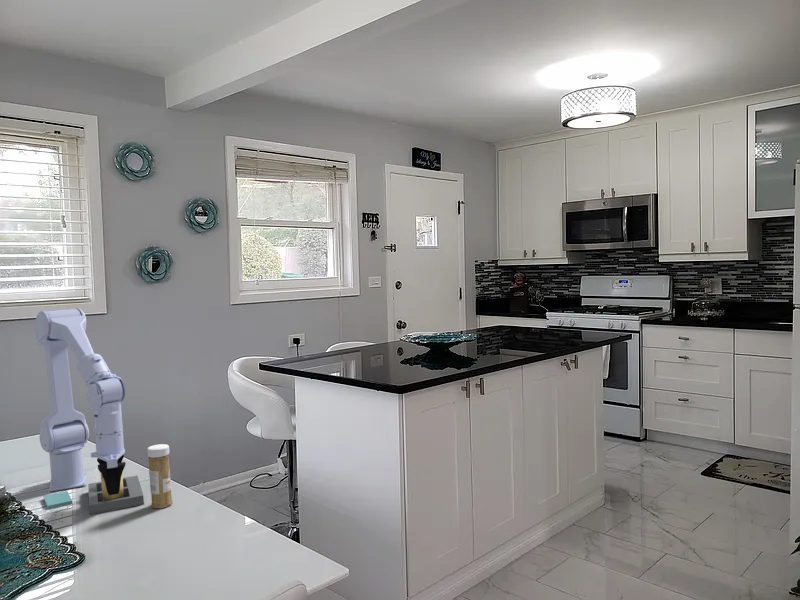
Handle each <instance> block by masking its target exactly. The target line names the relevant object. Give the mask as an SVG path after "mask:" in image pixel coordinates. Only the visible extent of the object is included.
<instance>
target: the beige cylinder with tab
mask: <svg viewBox="0 0 800 600" xmlns="http://www.w3.org/2000/svg"><path fill="white" fill-rule="evenodd" d="M123 478H124V477H123V475H122V476H121V481H120V490H119V493H118V494H113V495H108V492H107V489H106V485H105V481H104V478H103V476H102V474H101V473H100V482H101V483H102V496H103V500H104V501H109V500H114V499H119V498H125V497H124V490H123Z"/></svg>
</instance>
